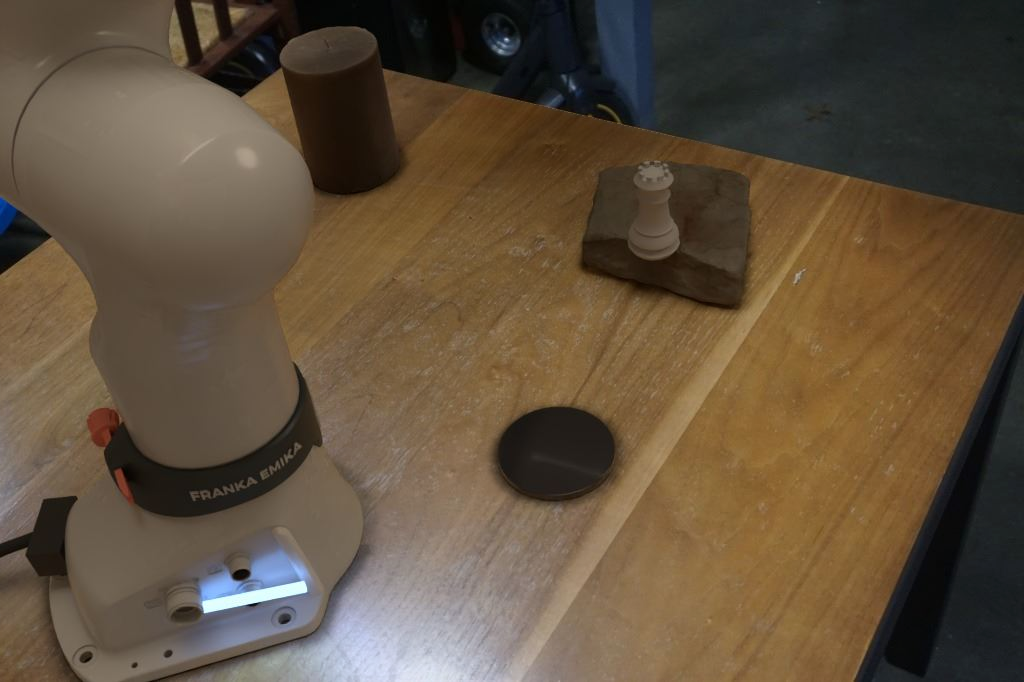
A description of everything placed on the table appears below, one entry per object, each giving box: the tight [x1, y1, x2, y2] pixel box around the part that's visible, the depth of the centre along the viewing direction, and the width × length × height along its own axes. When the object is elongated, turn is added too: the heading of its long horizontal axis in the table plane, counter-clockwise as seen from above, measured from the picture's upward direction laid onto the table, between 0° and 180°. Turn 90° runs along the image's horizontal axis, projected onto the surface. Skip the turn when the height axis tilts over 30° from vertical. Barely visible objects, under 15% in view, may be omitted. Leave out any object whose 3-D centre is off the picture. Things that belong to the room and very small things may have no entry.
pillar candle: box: [279, 26, 401, 194], centre depth 110 cm, size 10×10×15 cm
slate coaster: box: [497, 406, 617, 501], centre depth 84 cm, size 9×9×1 cm
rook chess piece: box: [628, 159, 680, 260], centre depth 92 cm, size 4×4×8 cm
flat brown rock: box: [581, 160, 753, 306], centre depth 100 cm, size 17×15×4 cm
